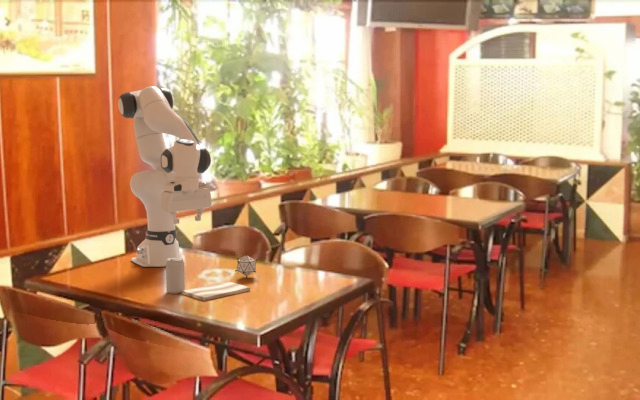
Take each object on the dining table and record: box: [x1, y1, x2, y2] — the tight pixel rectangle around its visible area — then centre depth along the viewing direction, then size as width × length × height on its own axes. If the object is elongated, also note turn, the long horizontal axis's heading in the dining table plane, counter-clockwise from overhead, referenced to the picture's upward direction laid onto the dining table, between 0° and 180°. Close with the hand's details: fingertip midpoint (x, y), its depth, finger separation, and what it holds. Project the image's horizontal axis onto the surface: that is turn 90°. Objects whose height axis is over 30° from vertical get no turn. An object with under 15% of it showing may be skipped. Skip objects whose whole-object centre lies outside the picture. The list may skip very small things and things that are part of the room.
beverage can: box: [165, 257, 186, 295], centre depth 270 cm, size 6×6×12 cm
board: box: [181, 280, 251, 302], centre depth 270 cm, size 13×20×1 cm, turn 134°
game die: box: [234, 252, 259, 279], centre depth 290 cm, size 9×8×10 cm
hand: (187, 222), depth 279 cm, fingers open, 8 cm apart
